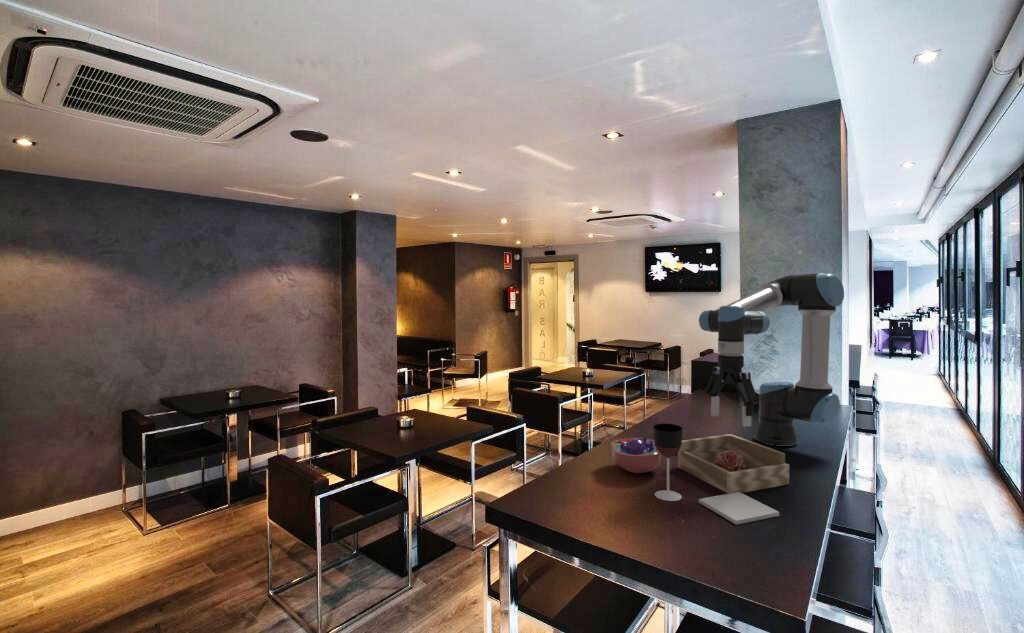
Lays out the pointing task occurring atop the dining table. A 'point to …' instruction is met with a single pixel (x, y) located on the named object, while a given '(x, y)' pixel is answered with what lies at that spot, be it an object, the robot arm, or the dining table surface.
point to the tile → (738, 508)
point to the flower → (730, 461)
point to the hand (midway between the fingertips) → (730, 420)
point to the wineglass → (668, 452)
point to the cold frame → (760, 474)
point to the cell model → (636, 454)
